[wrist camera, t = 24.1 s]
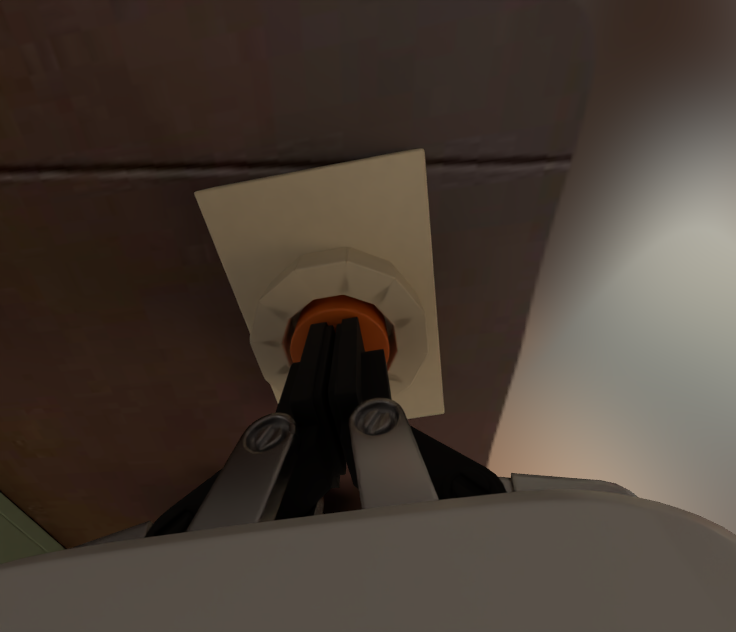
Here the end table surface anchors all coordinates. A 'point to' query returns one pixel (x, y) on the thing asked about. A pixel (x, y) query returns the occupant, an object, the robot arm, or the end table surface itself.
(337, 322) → the button
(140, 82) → the end table surface
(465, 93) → the end table surface
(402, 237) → the panel
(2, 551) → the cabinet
